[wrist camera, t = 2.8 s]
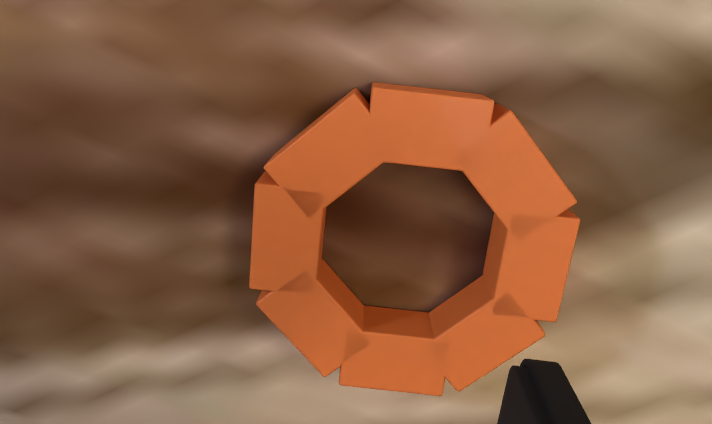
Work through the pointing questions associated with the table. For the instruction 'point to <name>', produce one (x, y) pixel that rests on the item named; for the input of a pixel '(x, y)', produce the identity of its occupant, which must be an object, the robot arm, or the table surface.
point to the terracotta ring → (460, 312)
